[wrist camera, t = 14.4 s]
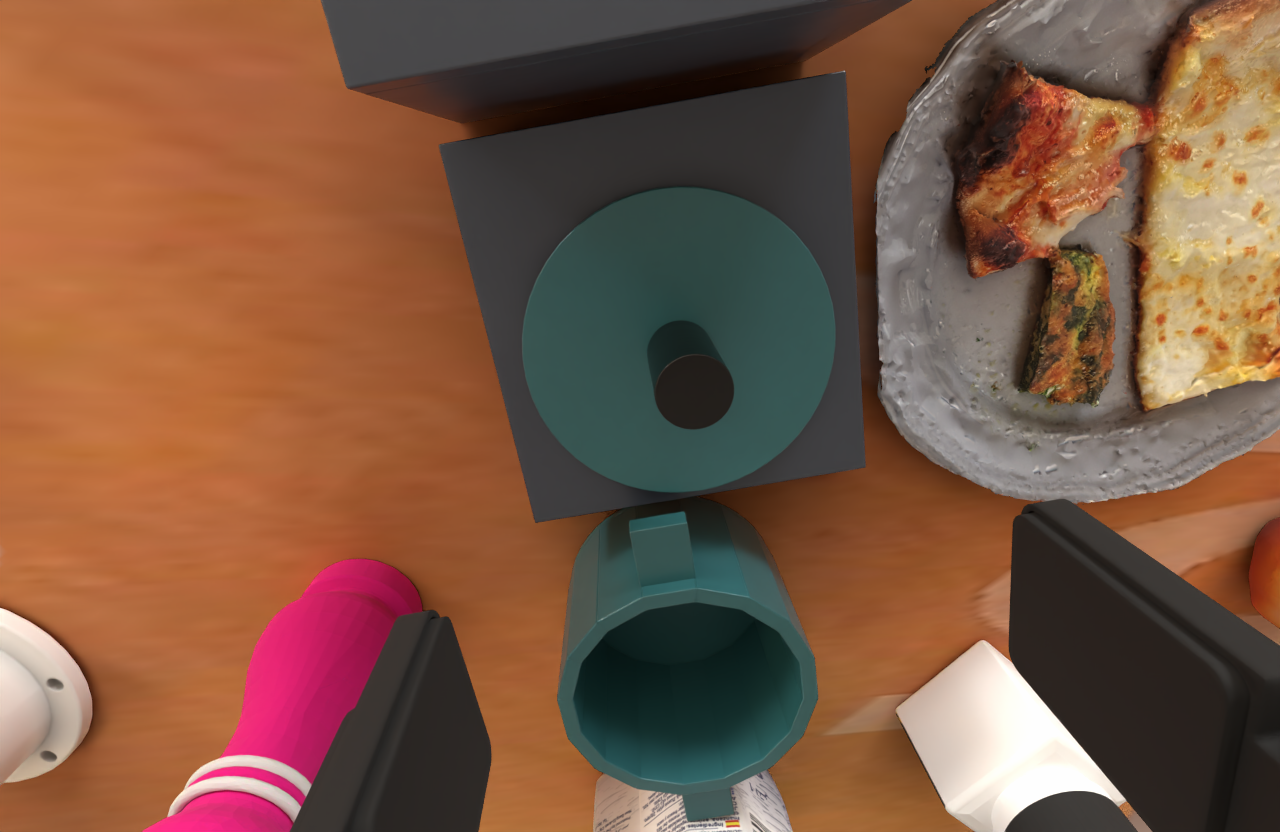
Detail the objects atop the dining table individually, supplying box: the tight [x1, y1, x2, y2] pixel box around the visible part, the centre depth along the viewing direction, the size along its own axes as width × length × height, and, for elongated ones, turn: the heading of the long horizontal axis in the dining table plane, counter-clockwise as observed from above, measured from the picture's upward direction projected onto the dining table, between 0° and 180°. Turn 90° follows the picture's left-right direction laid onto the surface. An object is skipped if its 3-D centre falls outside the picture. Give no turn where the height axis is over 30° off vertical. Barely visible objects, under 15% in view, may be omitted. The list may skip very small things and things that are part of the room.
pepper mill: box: [142, 559, 422, 832], centre depth 27 cm, size 7×7×20 cm
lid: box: [522, 186, 835, 493], centre depth 24 cm, size 12×12×6 cm
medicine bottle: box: [895, 640, 1138, 832], centre depth 35 cm, size 7×7×12 cm
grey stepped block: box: [321, 0, 912, 523], centre depth 23 cm, size 15×26×13 cm, turn 10°
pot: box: [557, 497, 818, 821], centre depth 33 cm, size 11×17×8 cm
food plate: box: [873, 0, 1280, 505], centre depth 30 cm, size 25×23×4 cm
